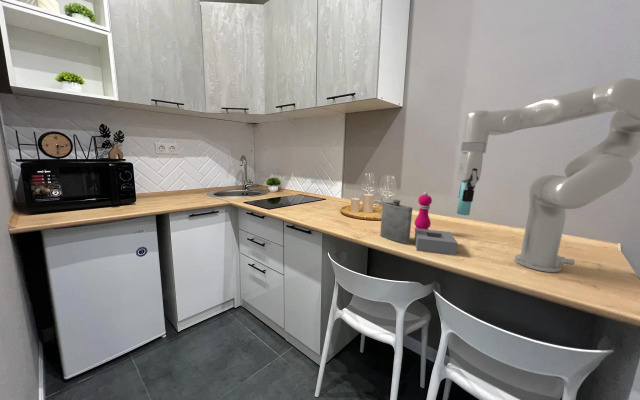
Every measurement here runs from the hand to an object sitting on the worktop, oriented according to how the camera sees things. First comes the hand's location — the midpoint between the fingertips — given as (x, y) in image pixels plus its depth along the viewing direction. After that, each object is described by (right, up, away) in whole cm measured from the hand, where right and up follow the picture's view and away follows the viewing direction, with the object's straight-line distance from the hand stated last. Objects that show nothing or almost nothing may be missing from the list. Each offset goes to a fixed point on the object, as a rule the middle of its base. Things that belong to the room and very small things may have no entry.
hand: (465, 199), depth 91 cm
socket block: (-6, -19, +13) cm, 24 cm away
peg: (0, -5, +1) cm, 5 cm away
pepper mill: (-3, -16, +32) cm, 36 cm away
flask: (-20, -18, +20) cm, 34 cm away
